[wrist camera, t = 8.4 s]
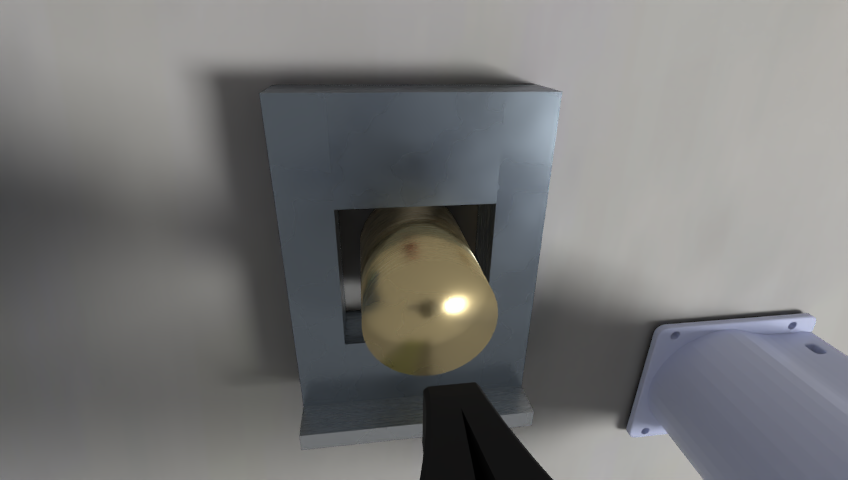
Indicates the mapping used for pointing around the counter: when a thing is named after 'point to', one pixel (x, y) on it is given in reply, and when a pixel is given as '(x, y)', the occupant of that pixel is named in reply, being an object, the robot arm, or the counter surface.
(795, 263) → the counter surface
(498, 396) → the frame
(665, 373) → the robot arm
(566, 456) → the counter surface
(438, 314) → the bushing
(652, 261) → the counter surface
